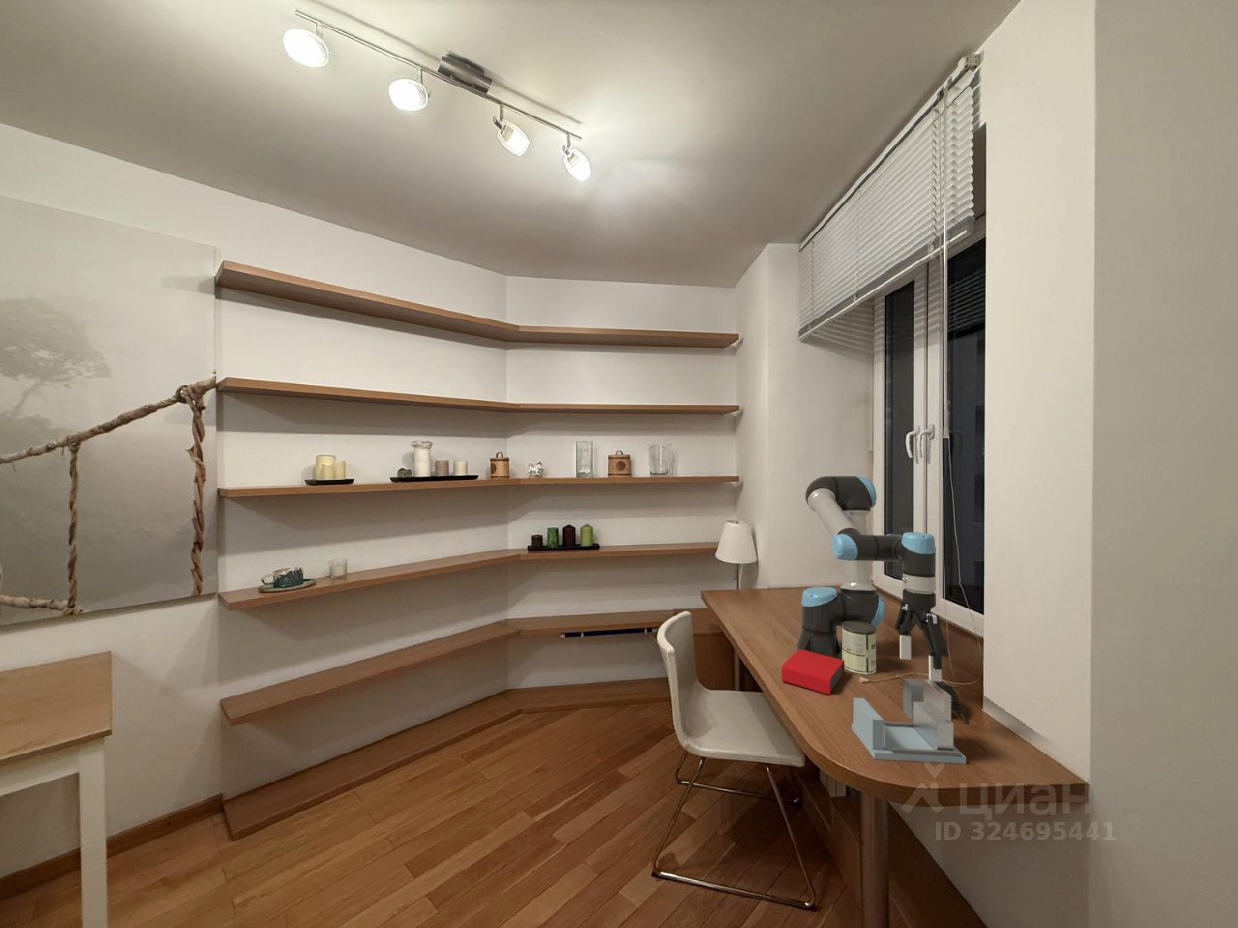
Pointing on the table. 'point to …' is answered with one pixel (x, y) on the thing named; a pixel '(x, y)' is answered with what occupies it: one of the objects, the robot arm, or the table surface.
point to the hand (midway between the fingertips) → (919, 669)
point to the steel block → (912, 694)
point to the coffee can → (859, 647)
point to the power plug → (952, 698)
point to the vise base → (896, 738)
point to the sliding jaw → (934, 717)
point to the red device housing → (813, 671)
